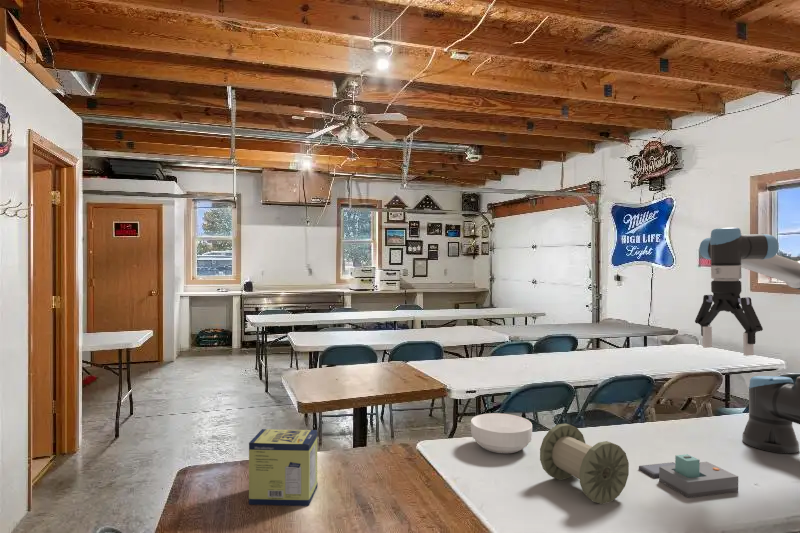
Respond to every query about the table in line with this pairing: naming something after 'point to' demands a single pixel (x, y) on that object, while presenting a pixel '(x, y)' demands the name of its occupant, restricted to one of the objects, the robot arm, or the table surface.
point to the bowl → (501, 432)
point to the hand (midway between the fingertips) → (727, 351)
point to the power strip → (700, 480)
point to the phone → (653, 469)
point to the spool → (585, 462)
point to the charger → (687, 465)
